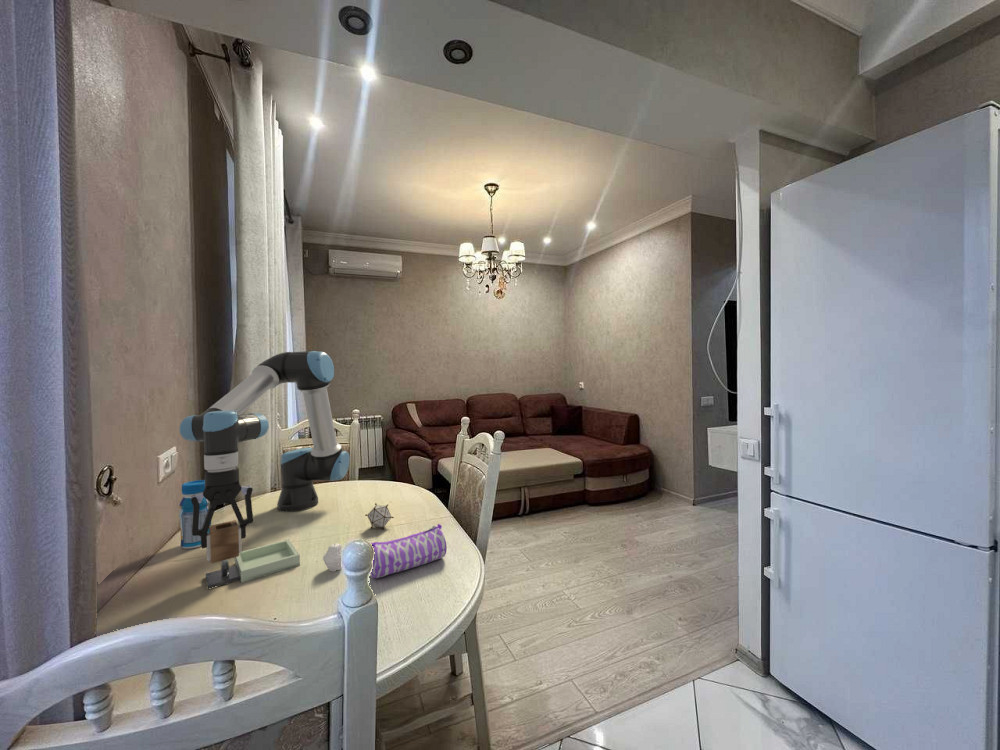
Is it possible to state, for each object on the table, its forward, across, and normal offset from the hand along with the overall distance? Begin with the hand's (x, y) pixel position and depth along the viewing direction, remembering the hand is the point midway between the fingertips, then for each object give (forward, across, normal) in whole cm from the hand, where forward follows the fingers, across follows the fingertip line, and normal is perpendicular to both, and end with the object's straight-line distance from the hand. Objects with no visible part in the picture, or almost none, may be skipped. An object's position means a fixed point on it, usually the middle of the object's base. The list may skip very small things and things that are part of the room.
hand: (224, 554), depth 106 cm
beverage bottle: (+6, -5, +33) cm, 34 cm away
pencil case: (+7, +40, -28) cm, 49 cm away
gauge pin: (+6, 0, 0) cm, 6 cm away
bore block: (0, 0, 0) cm, 0 cm away
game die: (+6, +45, +5) cm, 46 cm away
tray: (+6, +10, +1) cm, 12 cm away
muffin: (+6, +24, -15) cm, 29 cm away
